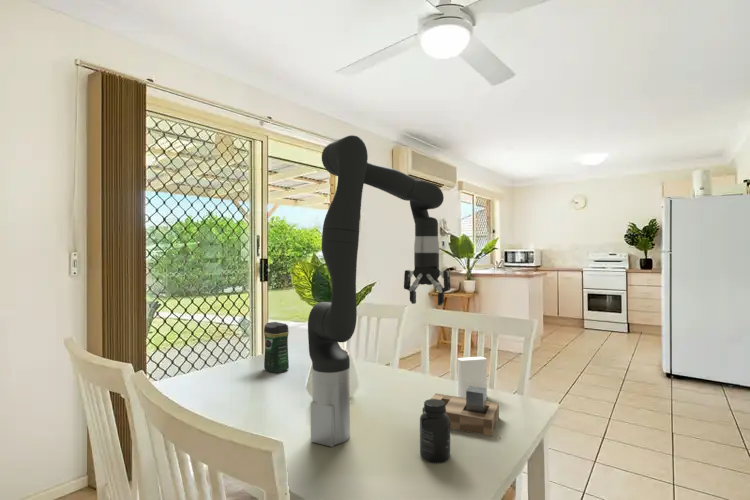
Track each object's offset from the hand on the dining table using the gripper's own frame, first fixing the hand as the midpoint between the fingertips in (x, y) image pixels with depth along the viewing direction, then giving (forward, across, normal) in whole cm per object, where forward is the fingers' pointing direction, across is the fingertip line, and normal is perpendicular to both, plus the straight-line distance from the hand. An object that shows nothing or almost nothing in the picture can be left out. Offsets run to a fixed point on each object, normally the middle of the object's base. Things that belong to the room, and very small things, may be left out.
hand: (426, 304), depth 119 cm
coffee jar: (+30, -64, +4) cm, 70 cm away
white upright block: (+30, +11, +11) cm, 34 cm away
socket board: (+30, +13, -8) cm, 34 cm away
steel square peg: (+30, +17, -8) cm, 35 cm away
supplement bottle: (+30, +12, -29) cm, 44 cm away
